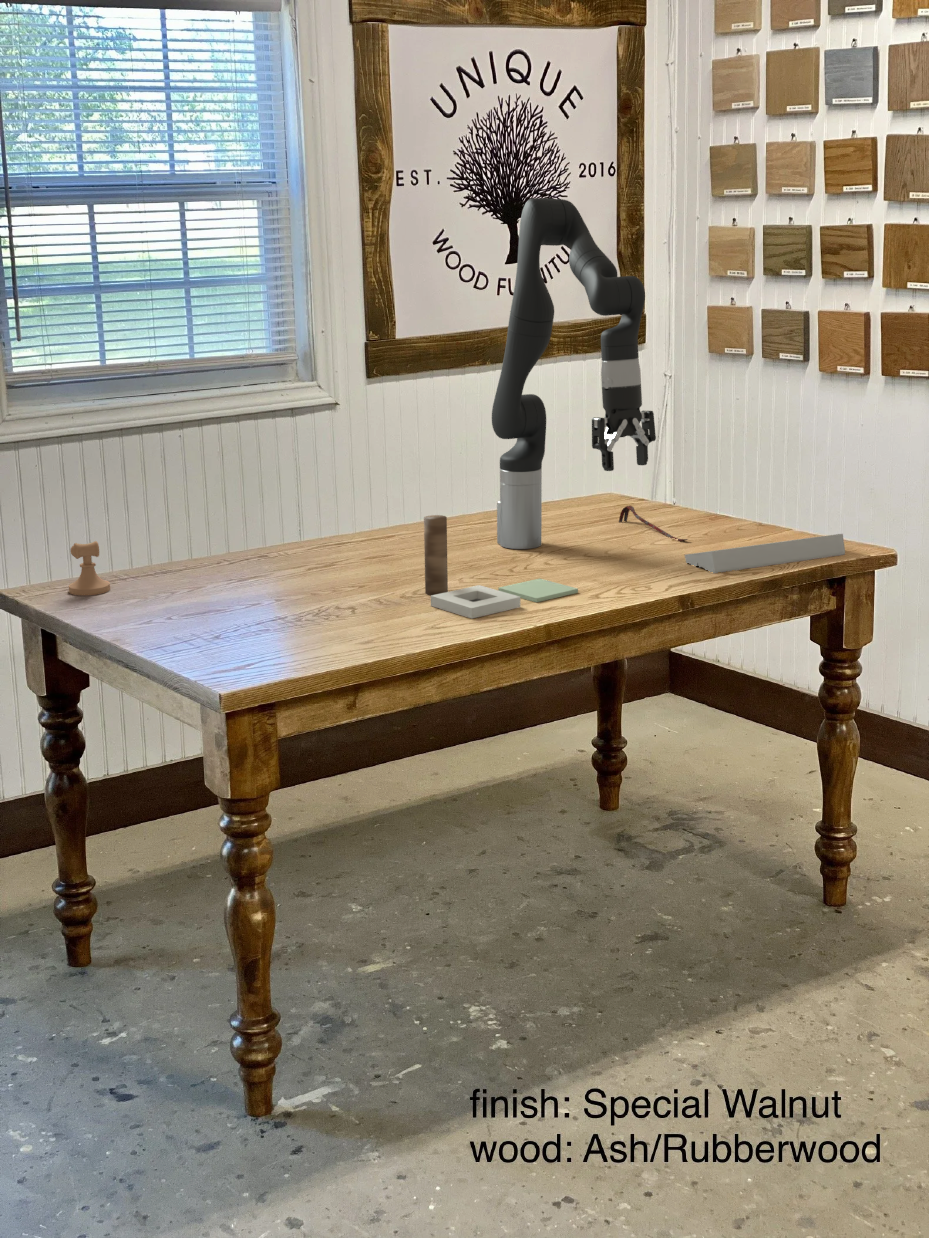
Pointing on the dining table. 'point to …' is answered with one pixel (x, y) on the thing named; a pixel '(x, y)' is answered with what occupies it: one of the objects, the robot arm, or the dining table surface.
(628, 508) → the crowbar
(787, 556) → the decorative molding
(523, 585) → the pad
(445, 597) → the hole plate
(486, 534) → the dining table surface
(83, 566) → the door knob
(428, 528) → the walnut post
